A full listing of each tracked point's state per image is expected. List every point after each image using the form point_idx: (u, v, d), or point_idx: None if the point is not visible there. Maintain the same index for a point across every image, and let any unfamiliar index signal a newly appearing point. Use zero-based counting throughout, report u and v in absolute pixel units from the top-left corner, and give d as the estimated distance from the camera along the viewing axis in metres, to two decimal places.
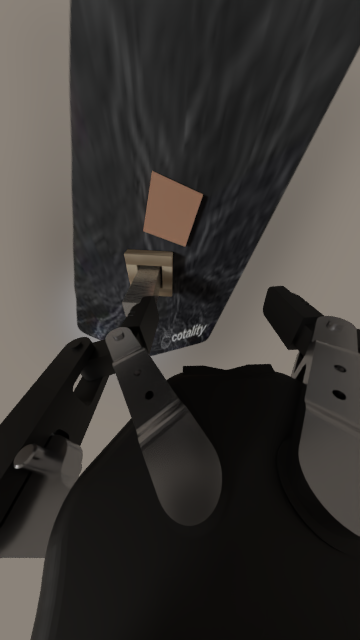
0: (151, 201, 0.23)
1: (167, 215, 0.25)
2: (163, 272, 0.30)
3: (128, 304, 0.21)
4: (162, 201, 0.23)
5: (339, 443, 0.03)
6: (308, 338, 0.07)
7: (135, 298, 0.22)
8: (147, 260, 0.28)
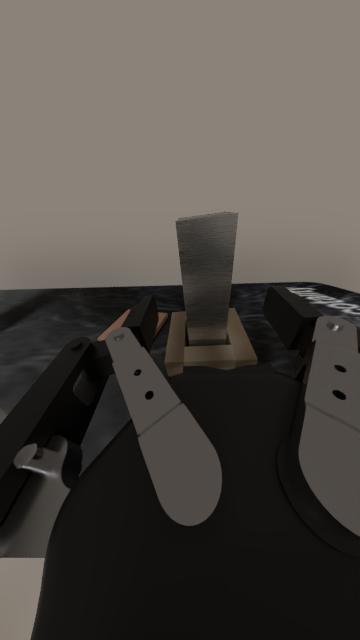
0: None
1: None
2: None
3: (182, 220, 0.10)
4: None
5: (339, 443, 0.03)
6: (308, 338, 0.07)
7: None
8: (176, 333, 0.18)
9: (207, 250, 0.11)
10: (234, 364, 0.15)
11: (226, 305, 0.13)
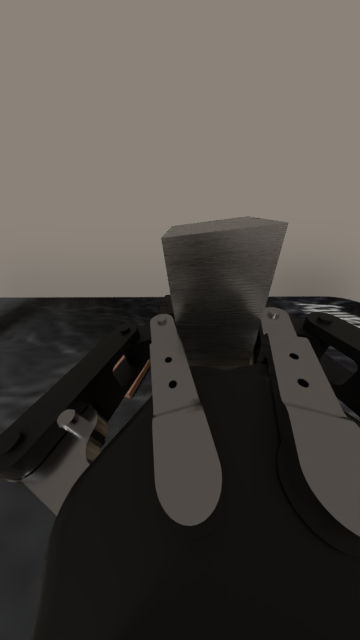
0: None
1: (120, 359, 0.18)
2: None
3: (175, 233, 0.06)
4: None
5: (325, 438, 0.03)
6: None
7: None
8: None
9: (221, 288, 0.06)
10: None
11: (245, 361, 0.09)
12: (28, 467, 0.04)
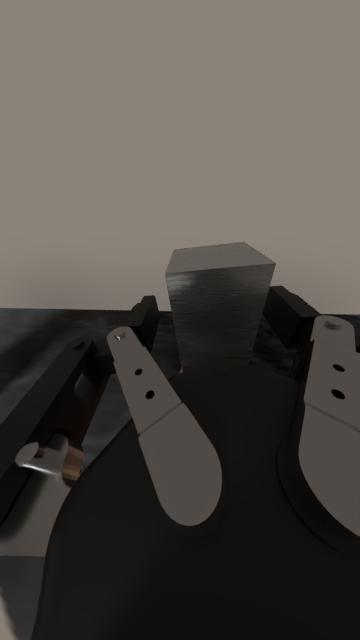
0: None
1: None
2: None
3: (177, 265, 0.06)
4: None
5: (339, 443, 0.03)
6: (306, 338, 0.07)
7: None
8: None
9: (218, 313, 0.07)
10: None
11: None
12: None
